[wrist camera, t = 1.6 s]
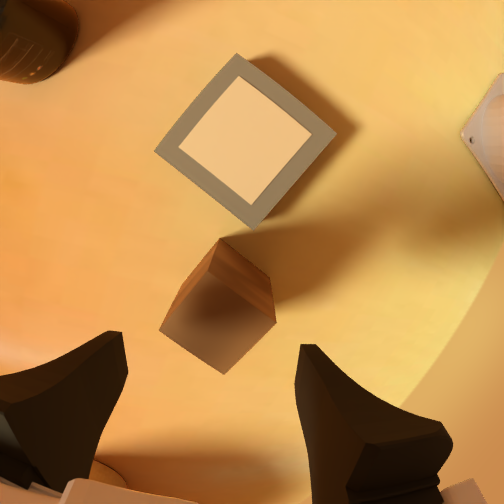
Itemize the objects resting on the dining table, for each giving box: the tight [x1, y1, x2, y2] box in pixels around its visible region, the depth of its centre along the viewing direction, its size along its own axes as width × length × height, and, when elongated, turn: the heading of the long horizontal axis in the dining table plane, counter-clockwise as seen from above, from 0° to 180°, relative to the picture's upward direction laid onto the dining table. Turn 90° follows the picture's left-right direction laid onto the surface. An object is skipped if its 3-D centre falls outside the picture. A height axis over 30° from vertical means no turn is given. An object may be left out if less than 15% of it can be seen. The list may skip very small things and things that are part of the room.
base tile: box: [154, 53, 337, 231], centre depth 17 cm, size 7×7×2 cm
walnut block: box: [159, 238, 277, 374], centre depth 18 cm, size 4×4×6 cm
